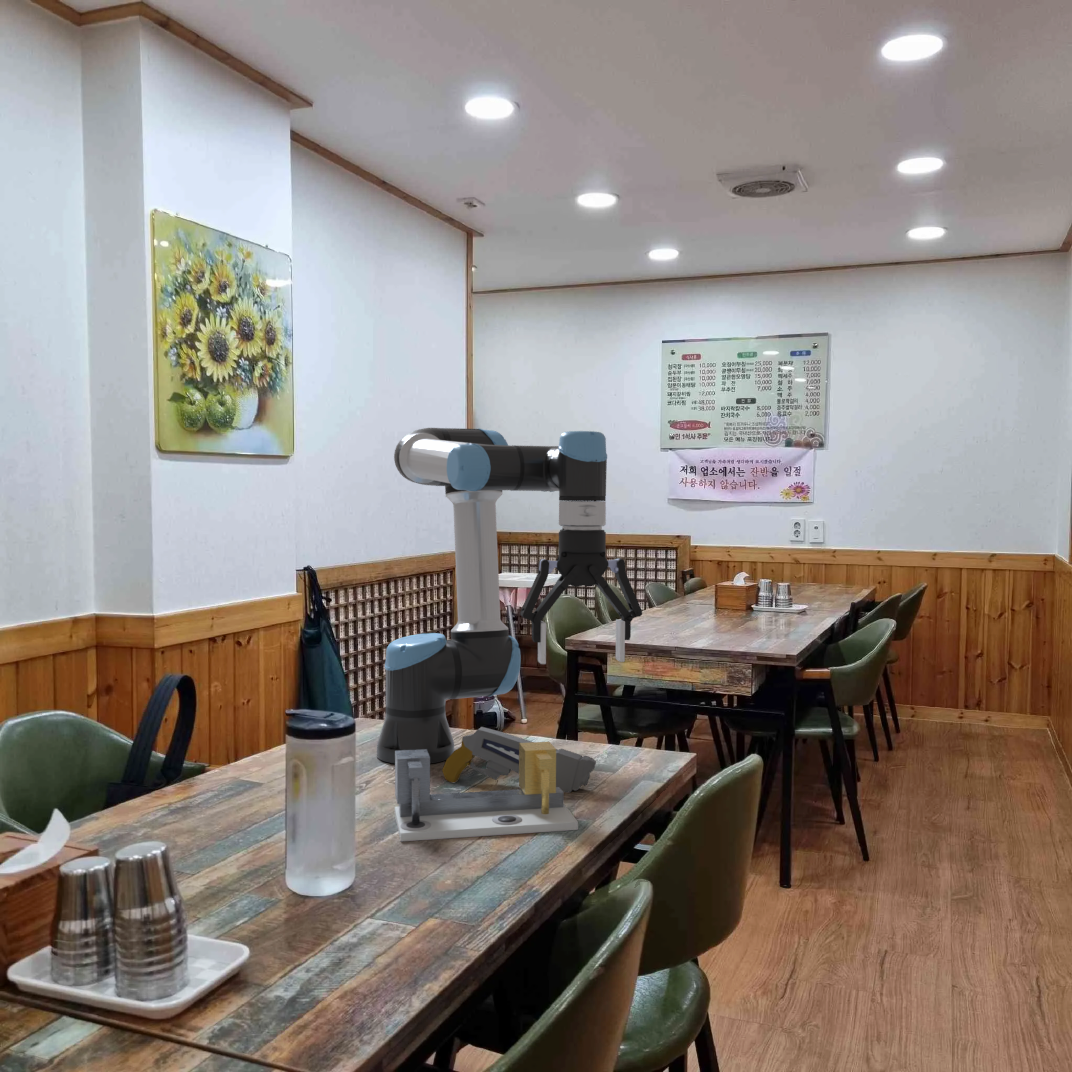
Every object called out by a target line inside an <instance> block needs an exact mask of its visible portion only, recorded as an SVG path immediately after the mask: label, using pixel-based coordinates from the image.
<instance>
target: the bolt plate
mask: <svg viewBox="0 0 1072 1072" xmlns="http://www.w3.org/2000/svg"><path fill="white" fill-rule="evenodd" d="M394 817H395V822H396V826H397V831H398V836H399V840H400V842H412V841H413V842H414V841H426V840H445V839H457V838H459V839H460V838H474V837H487V836H488V837H489V836H504V835H506V836H507V835H517V834H518V835H519V834H531V833H533V834H535V833H547V832H549V833H550V832H551V833H552V832H564V831H577V830H579V821H578V820H577V819H576V818H575V816H574V814H573V813H572V812H571V811H570V809H569V808H568V807H567V806H566V804H565V803H563V807H558V808H549V814H541V809H526V810H509V811H493V812H477V813H460V814H444V815H428V816H420V823H418V824H413V823H412V816H411V817H400V814H399V805H398V806H394Z"/></svg>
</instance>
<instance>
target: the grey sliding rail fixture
mask: <svg viewBox="0 0 1072 1072" xmlns="http://www.w3.org/2000/svg"><path fill="white" fill-rule="evenodd" d="M394 775H395V776H394V777H395V778H394V780H395V781H394V792H395V793H394V794H395V799H396V804H397V805H398V806H399V814H400V817H411V816H412V823H413V824H418V823H420V816H428V815H444V814H460V813H477V812H493V811H509V810H526V809H541V794H528V795H525V794H524V792H523V791H522V789H521V788H516V789H503V790H498V789H497V790H485V791H484V790H483V791H467V792H450V793H431V763H430V756H429V754H428V751H427V749H422V750H401V751H395V763H394ZM564 793H565V792H563V791H562V790H561V789H560V787H556V793H549V808H558V807H563V803H564V798H565V796H564ZM564 804H565V803H564Z"/></svg>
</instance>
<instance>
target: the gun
mask: <svg viewBox="0 0 1072 1072" xmlns="http://www.w3.org/2000/svg"><path fill="white" fill-rule="evenodd" d="M531 742H533V741H532V740H528V739H525V738H522V737H519V736H515V735H512V734H508V733H506V732H502V731H499V730H495V729H491V728H488V727H484V726H480V728H478V729H476V731H474V732H473V733H471V734H468V735H464V736H462V739H461V746H460V747H459V748H457V749H454V752H453V753H452V754H451V755H450V757H449V758H448V759H447V760H445V762H444V765H443V767H442V771H441V772H442V774H443V777H444V779H445V781H447V782H449V783H452V784H453V783H457V782H458V781H459V779H460V777H461V775H462V772H463V771H464V770H466V768H467V767H470V768H471V769H472V770H475V771H477V772H479V773H481V774H482V775H485V776H487V777H489V778H491V779H493V780H495V781H496V780H498V779H499V777H500V776H507V777H508V775H510V773H511V772H512V771H513V772H515V773H517V774H519V743H531ZM555 749H556V787H560V789H561V790H562V791H563V792H564V793H572V791H578V790H580V788H582V787H581V786H583V787H586V786H587V785H588V782H589V779H590V777H591V773H592V772H593V771H594V770H595V767H596V764H597V760H595V759H594V758H593V757H591V756H588V755H581V754H579V753H577V752H574V751H571V750H567V749H563V748H559V749H558V748H555ZM475 757H477V758H479V759H481V760H483V761H486V762H487V763H486V765H485V766H486V768H481V767H479V766H477V765H476V763H475V762H474V761H473V759H474V758H475Z"/></svg>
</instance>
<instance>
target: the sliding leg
mask: <svg viewBox="0 0 1072 1072" xmlns="http://www.w3.org/2000/svg"><path fill="white" fill-rule="evenodd" d="M556 749H557V748H556V747H555V746H554V745H553V744H552V743H551V742H550V741H536V742H535V741H532V742H531V743H519V773H518V786H519V789H522V791H523V792H524V794H525V795H528V794H541V814H549V793H556Z"/></svg>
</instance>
